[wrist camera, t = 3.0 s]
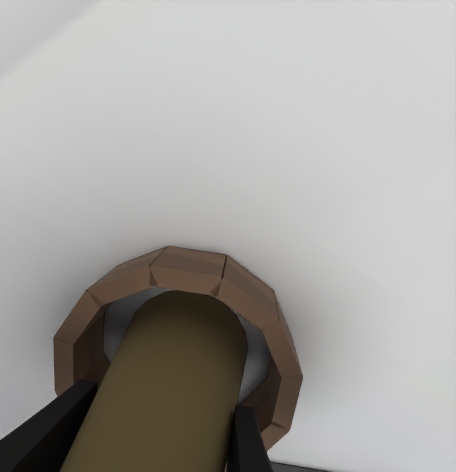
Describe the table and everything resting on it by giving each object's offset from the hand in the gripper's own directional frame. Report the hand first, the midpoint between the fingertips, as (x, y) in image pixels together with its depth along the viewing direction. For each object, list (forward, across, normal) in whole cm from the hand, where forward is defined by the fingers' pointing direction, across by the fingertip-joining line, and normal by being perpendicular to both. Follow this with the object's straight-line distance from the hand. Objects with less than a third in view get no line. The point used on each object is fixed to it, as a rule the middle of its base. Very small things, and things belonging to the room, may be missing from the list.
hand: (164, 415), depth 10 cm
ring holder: (+4, 0, 0) cm, 4 cm away
